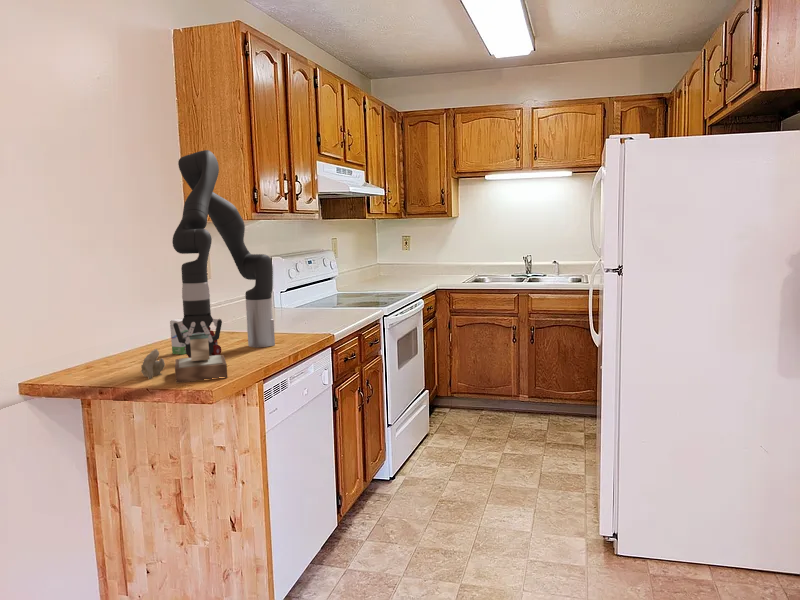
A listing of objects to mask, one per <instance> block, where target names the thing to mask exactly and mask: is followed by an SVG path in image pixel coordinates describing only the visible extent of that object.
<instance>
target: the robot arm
mask: <svg viewBox="0 0 800 600" xmlns="http://www.w3.org/2000/svg"><path fill="white" fill-rule="evenodd" d="M177 162H178V164H177V165H178V169H179V171H180V174H181V176H182V178H183V179H184V181H185V182H186V184H187V185H188V187H189V188H190V190H191V191H190V193H189V194H188V196H187V198H186V199H185V201H184V205H183V210H182V217H181V220H180V221H179V224H178V225H177V228H176V229H175V231H174V233H173V235H172V240H171V241H172V247H173V249H174V251H176V253H178V254H181V255H187V254H189V255H190V254H198V257H197V258H196V259H195V260H192V261H187V262H184V263H183V264H182V265H181V270H180V271H181V281H182V282H181V283H182V284H181V285H182V287H181V288H182V289H181V294H182V295H181V298H182V311H183V312H182V313H183V317H182V318H183V320H182V321H180V322H174V324H173V326H174V329H175V332H176V335H177V338H178V341H179V342H180V343H184V344H185V345H186V354H185V355H186V356H188V355H189V357H191V346H190V336H192V334H193V333H197V332H201V333H202V332H205V334H206V335H208V341H209V342H208V343H209V355H211V356H212V354H211V353H213V351H214V350H213V342H214V341H215V340H217V341H218V340H219V339H220V337H221V336H220V335H221V331H222V330H221V329H222V324H223V320H222V318H221V319H220V318H214V317H212V312H211V311H212V310H211V298H210V297H211V295H210V287H209V281H208V262H209V261H208V260H209V255H210V251H211V247H212V246H211V245H212V241H213V240H212V239H213V237H212V235H211V233H210V232H209V231H208V230H207V229H205V228H206V227H207V224H208V217H209V218H210V220H211V222H212V224H213V226H214V227H215V229H216V230H217V232H218V233H219V235H220V236H221V238H222V240H223V242H224V244H225V246H226V247H227V250H228V251H229V253H230V255H231V257H232V259H233V263H235V266H236V268H237V270H238V272H239V274H240V275H241V276H242V277H243V279H245V280H249V281H251V280H252V281H253V280H254V281H255V284H254V286H253V287H252V288H250V289H248V290H246V291H245V293H244V294H245V296H244V297H245V308H246V309H245V312H246V314H245V315H246V329H247V330H246V331H247V345H248V347H250V348H266V347H271V346H276V339H275V323H274V322H275V320H274V317H273V300H272V299H273V298H272V294H273V289H274V267H273V261H272V258H271V256H269V255H267V254H263V253H262V254H261V253H259V254H258V253H256V254H255V253H251V252H249V250H248V248H247V245H246V244H245V242H244V241H245V239H244V237H245V233H246V232H245V231H246V230H245V229H246V228H245V227H246V225H245V222H244V220H243V217H242V216H241V214H240V212H239V210H238V209H237V207H236V206H235V205H234V203H232V202H231V201H229V200H227V199H225V198H224V197H222V196H220V195H219V194H217V193H215V192H214V191H215V187H216V183H217V181H218V176H219V171H220V167H219V162H218V160H217V157H216V156H215V154H214V153H213V152H212V151H211V150H209V149H204V150H200V151H197V152H194V153H190V154H186V155H184V156H181V157H180V158H179V159H178V161H177ZM212 323H213V325H214V326H215V331H214V334H215V335H214V336H211V334H210V332H209V330H208V328H209V327H210V326H211V324H212ZM182 324H184V325H185V327H186V328H187V329H188V333H187V336H186V339H185V338H182V335H181V332H180V329H181V328H182ZM189 357H188V358H189Z"/></svg>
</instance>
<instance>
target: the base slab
mask: <svg viewBox="0 0 800 600" xmlns="http://www.w3.org/2000/svg"><path fill="white" fill-rule="evenodd" d="M209 359H210V360H199V361H191V358H189V357H185V358H183V357H182V358H177V359H175V362H174V363H175V364H174V373H175V376H174V377H175V383H176V384H178V383H179V384H180V383H190V381H191V382H197V381H196V380H201V381H205V380H204V379H211V380H213V379H212V378H219V377H227V378H228V365H227V361H226V358H225V355H224V354H222V355H215V356H212V355H211V356H209Z"/></svg>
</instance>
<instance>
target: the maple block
mask: <svg viewBox="0 0 800 600" xmlns="http://www.w3.org/2000/svg"><path fill="white" fill-rule="evenodd" d="M190 346H191V361H199V360H210V359H209V343H208V335H206V334H205V333H199V334H192V336H190Z"/></svg>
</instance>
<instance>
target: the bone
mask: <svg viewBox="0 0 800 600" xmlns="http://www.w3.org/2000/svg"><path fill="white" fill-rule="evenodd" d="M159 356H160V352H159V350H158V348H157V349H156V348H154V350H151V351H150V353H149V354H147V355H146V356H145V357H144V359H143V362H142V364H141V366H140V369H141V370H140V372H141V374H142V376H143V377H144V378H145V377H147V378H148V380H152V379H153V377H154V376H160V375H163V373H162V372H163V370H164V368H165V365H166V364H165V360H164V358H163V357H160V358H159ZM158 358H159V360H158Z"/></svg>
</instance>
